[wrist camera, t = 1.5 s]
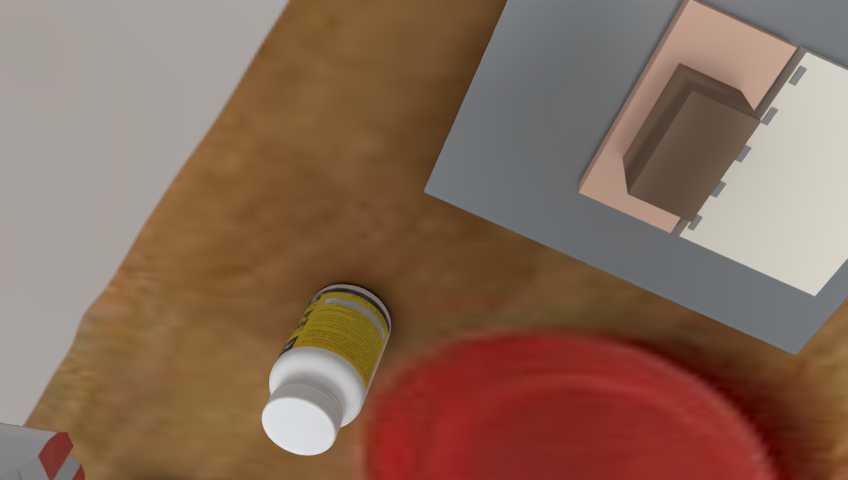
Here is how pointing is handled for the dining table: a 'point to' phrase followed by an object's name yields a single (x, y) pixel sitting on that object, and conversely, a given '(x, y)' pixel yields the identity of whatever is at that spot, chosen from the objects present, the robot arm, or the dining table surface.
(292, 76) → the dining table surface
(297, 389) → the supplement bottle
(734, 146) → the brown and pink block
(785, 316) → the board
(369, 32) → the dining table surface
